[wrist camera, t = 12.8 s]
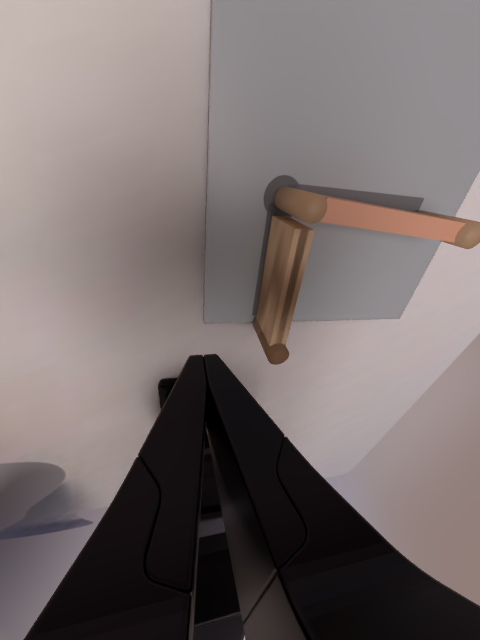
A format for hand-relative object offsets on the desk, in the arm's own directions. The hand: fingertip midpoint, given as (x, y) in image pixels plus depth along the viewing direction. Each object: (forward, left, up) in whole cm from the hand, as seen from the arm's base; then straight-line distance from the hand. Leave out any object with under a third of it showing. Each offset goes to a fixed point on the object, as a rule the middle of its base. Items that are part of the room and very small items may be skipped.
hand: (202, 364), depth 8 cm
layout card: (+5, -11, -12) cm, 17 cm away
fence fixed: (-2, -6, -11) cm, 13 cm away
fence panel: (+4, -12, -11) cm, 17 cm away
